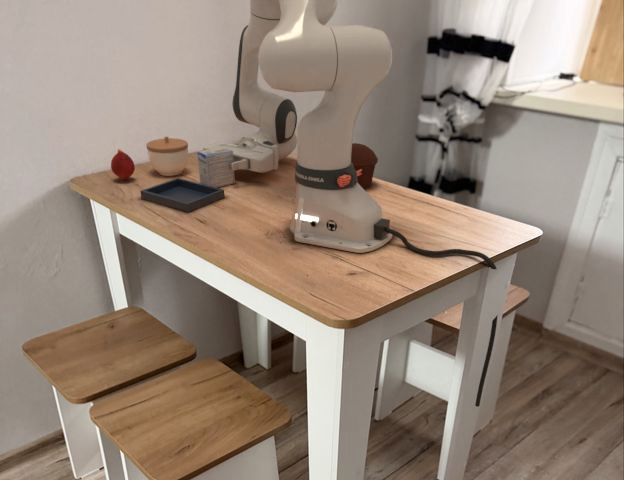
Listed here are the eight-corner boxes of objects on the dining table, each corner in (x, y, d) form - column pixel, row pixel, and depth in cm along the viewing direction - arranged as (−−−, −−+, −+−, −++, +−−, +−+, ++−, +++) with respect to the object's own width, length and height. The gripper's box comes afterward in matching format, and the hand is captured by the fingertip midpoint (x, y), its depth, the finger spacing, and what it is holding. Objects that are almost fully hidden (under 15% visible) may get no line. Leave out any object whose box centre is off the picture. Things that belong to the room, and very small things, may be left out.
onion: (139, 177, 158) (135, 146, 154) (132, 184, 153) (127, 152, 149) (118, 176, 159) (113, 145, 154) (110, 183, 154) (104, 151, 150)
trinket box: (198, 172, 163) (195, 136, 157) (166, 181, 156) (162, 144, 151) (174, 164, 168) (170, 129, 163) (142, 172, 162) (137, 137, 156)
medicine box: (225, 179, 158) (223, 146, 153) (235, 183, 155) (233, 149, 150) (199, 185, 153) (196, 151, 149) (209, 190, 150) (206, 155, 146)
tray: (224, 197, 146) (224, 189, 145) (188, 212, 137) (187, 204, 136) (178, 185, 153) (177, 177, 152) (141, 198, 144) (140, 190, 143)
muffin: (385, 185, 155) (388, 146, 150) (355, 194, 149) (357, 154, 143) (352, 175, 162) (354, 137, 157) (323, 183, 156) (323, 144, 151)
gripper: (222, 134, 164) (187, 144, 154) (282, 146, 154) (248, 158, 145) (224, 157, 167) (189, 169, 158) (282, 170, 158) (249, 183, 148)
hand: (218, 163), depth 151 cm, fingers open, 7 cm apart
